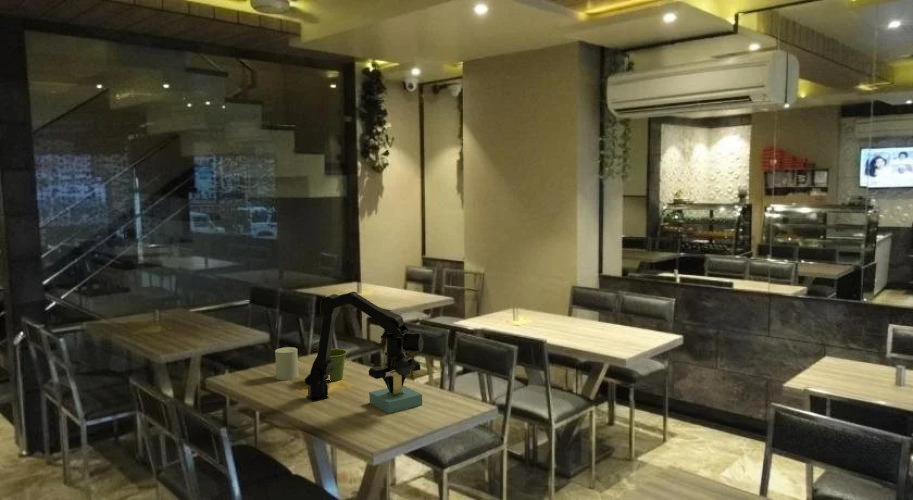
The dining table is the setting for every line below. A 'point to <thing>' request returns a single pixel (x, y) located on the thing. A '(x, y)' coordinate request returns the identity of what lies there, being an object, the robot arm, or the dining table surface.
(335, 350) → the plant pot
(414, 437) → the dining table surface
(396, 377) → the peg
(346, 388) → the dining table surface
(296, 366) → the can
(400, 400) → the socket block
